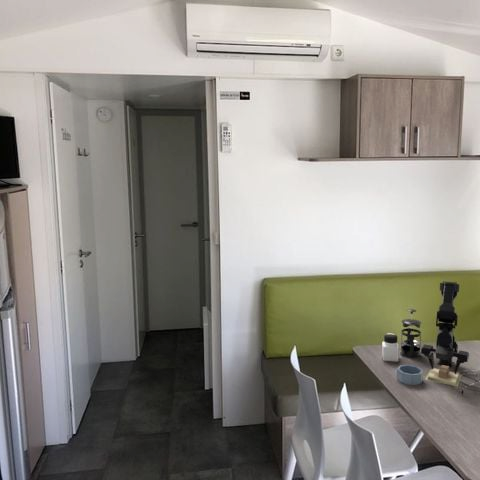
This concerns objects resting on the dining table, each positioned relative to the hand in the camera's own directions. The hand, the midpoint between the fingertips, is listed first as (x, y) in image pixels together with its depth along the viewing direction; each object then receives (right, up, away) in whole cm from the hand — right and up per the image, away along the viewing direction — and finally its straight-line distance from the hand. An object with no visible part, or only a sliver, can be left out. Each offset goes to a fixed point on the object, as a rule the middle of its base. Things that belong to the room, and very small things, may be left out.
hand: (443, 371), depth 207 cm
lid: (0, -3, 0) cm, 3 cm away
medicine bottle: (-16, 0, +23) cm, 28 cm away
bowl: (-15, -4, -1) cm, 16 cm away
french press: (-5, +1, +27) cm, 28 cm away
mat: (0, -3, 0) cm, 3 cm away
